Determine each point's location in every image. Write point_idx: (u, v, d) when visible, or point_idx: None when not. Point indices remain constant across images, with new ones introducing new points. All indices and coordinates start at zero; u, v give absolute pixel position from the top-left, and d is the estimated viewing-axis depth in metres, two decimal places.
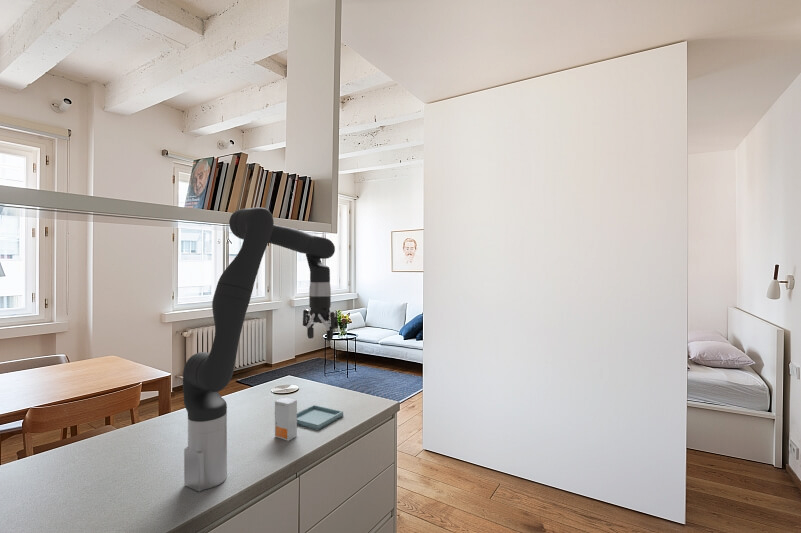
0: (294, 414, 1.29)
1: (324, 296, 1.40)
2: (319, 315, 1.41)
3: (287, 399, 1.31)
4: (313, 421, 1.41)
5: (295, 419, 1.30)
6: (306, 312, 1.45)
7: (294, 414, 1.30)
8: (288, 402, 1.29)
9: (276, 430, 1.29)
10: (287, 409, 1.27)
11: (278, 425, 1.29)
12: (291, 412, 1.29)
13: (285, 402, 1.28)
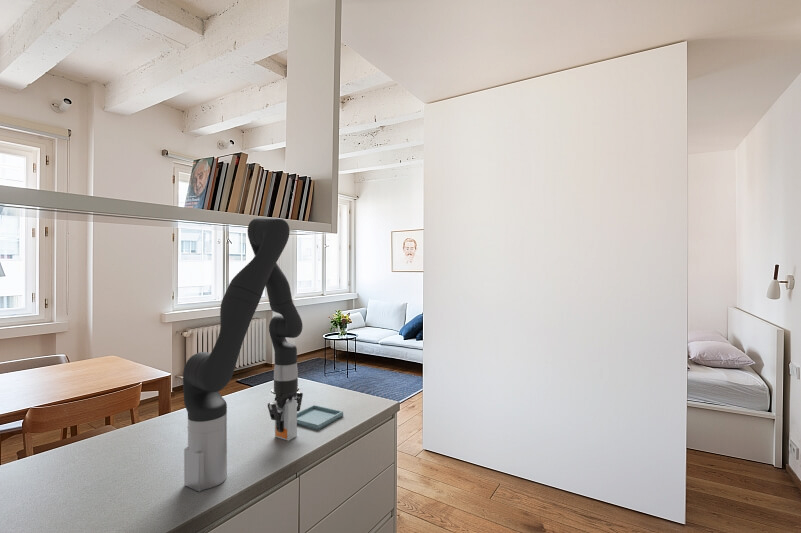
0: (294, 414, 1.29)
1: None
2: (293, 398, 1.30)
3: None
4: (313, 421, 1.41)
5: (295, 419, 1.30)
6: None
7: (294, 414, 1.30)
8: (288, 402, 1.29)
9: (276, 430, 1.30)
10: (287, 409, 1.27)
11: None
12: (291, 412, 1.29)
13: None
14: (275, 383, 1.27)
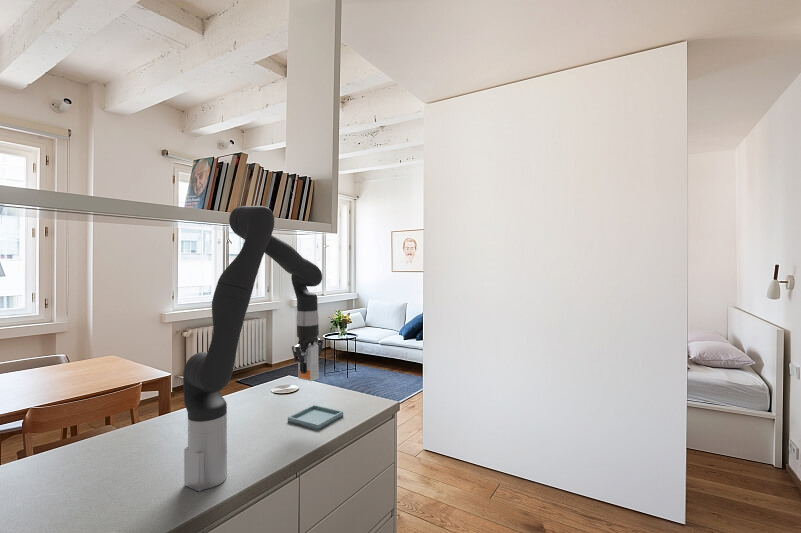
0: (315, 357, 1.39)
1: None
2: (314, 343, 1.40)
3: None
4: (313, 421, 1.41)
5: (317, 362, 1.40)
6: None
7: (316, 358, 1.39)
8: (310, 346, 1.39)
9: (299, 372, 1.39)
10: (309, 352, 1.37)
11: None
12: (314, 356, 1.38)
13: None
14: (298, 328, 1.37)
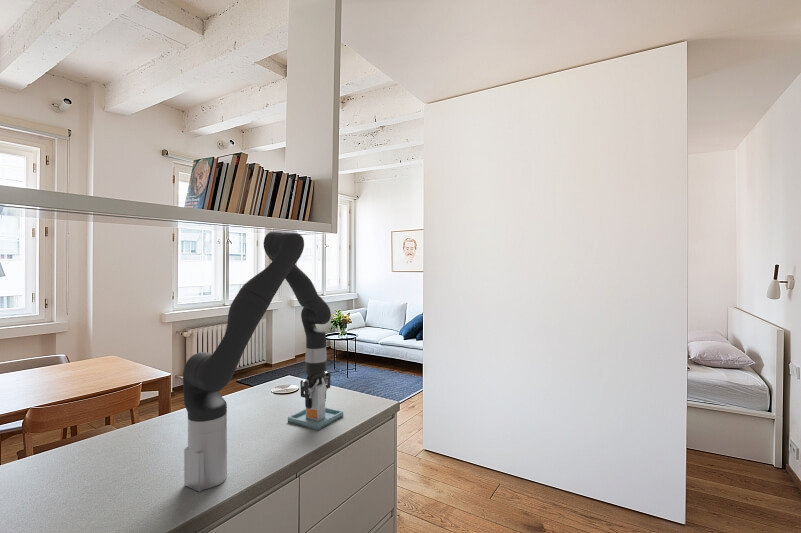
0: (323, 397, 1.44)
1: None
2: (322, 379, 1.45)
3: None
4: (313, 421, 1.41)
5: (324, 402, 1.44)
6: None
7: (323, 398, 1.44)
8: (317, 386, 1.43)
9: (307, 411, 1.44)
10: (317, 392, 1.41)
11: None
12: (321, 396, 1.43)
13: None
14: (307, 365, 1.42)
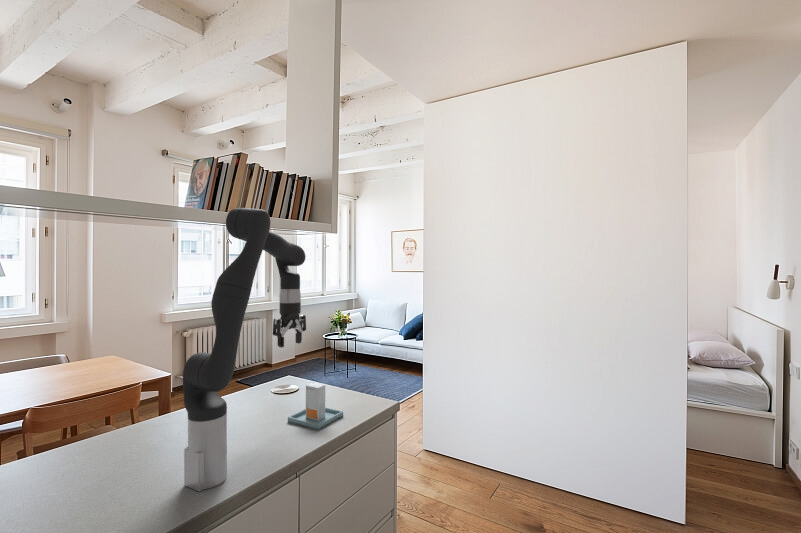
0: (323, 397, 1.44)
1: None
2: (296, 320, 1.47)
3: (316, 384, 1.45)
4: (313, 421, 1.41)
5: (324, 402, 1.44)
6: None
7: (323, 398, 1.44)
8: (317, 386, 1.43)
9: (307, 411, 1.44)
10: (316, 392, 1.41)
11: (309, 407, 1.43)
12: (321, 396, 1.43)
13: (315, 386, 1.43)
14: (280, 305, 1.44)
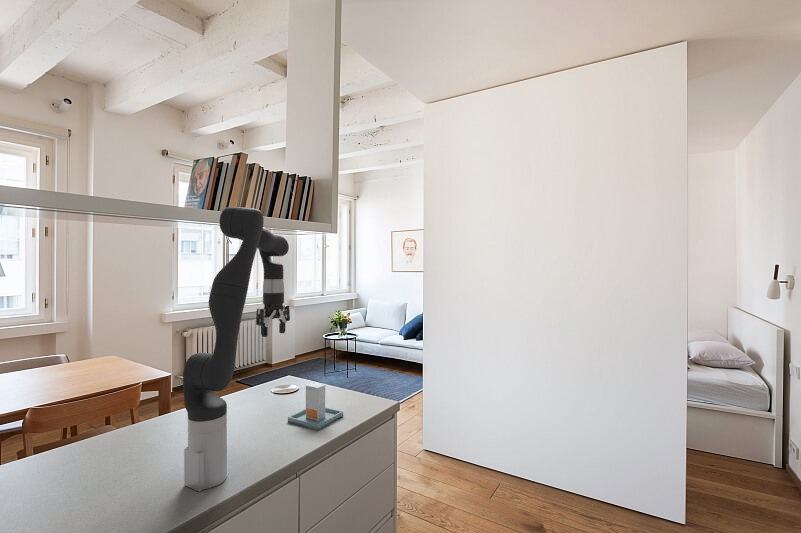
0: (323, 397, 1.44)
1: None
2: (280, 310, 1.48)
3: (316, 384, 1.45)
4: (313, 421, 1.41)
5: (324, 402, 1.44)
6: None
7: (323, 398, 1.44)
8: (317, 386, 1.43)
9: (307, 411, 1.44)
10: (316, 392, 1.41)
11: (309, 407, 1.43)
12: (321, 396, 1.43)
13: (315, 386, 1.43)
14: (264, 295, 1.45)
